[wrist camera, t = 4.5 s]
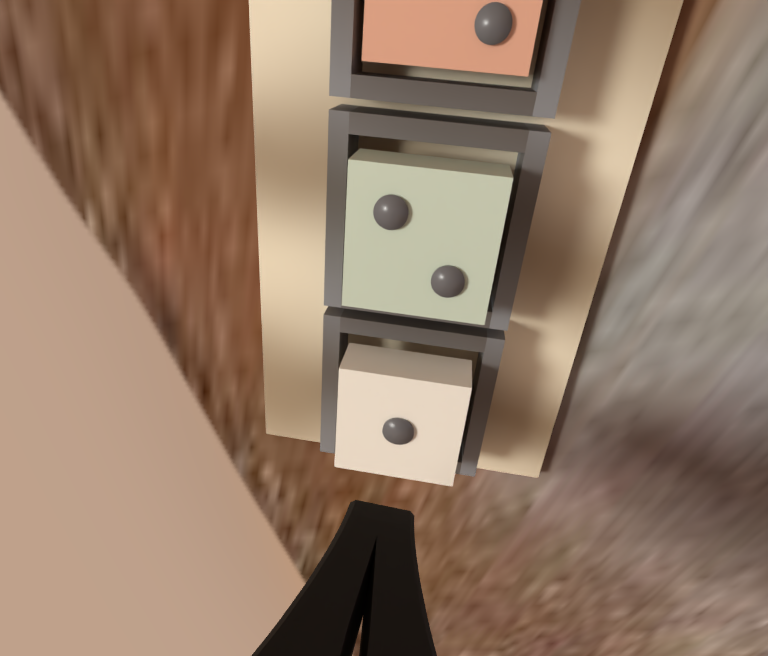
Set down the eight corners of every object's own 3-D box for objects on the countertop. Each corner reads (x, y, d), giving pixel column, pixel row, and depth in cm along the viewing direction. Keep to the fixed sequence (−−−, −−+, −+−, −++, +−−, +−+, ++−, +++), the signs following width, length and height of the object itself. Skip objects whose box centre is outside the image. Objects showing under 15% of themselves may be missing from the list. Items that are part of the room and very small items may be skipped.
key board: (537, 470, 19) (542, 508, 17) (269, 426, 20) (252, 459, 18) (741, -215, 10) (791, -263, 9) (246, -237, 11) (209, -284, 9)
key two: (483, 301, 14) (484, 327, 13) (352, 283, 14) (340, 307, 13) (509, 164, 12) (513, 179, 11) (360, 148, 13) (347, 160, 11)
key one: (453, 454, 17) (452, 489, 15) (344, 436, 17) (333, 469, 16) (471, 360, 15) (471, 390, 14) (349, 342, 15) (337, 370, 14)
